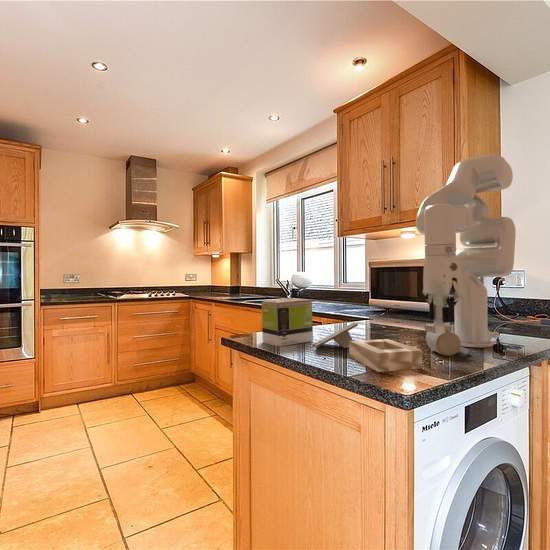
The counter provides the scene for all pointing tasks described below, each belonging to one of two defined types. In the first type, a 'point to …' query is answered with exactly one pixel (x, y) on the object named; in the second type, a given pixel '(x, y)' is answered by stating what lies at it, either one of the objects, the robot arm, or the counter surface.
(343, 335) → the beige double panel block
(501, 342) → the counter surface
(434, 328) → the wood grain block
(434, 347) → the ceramic mug
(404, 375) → the counter surface
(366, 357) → the well block
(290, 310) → the tea box
